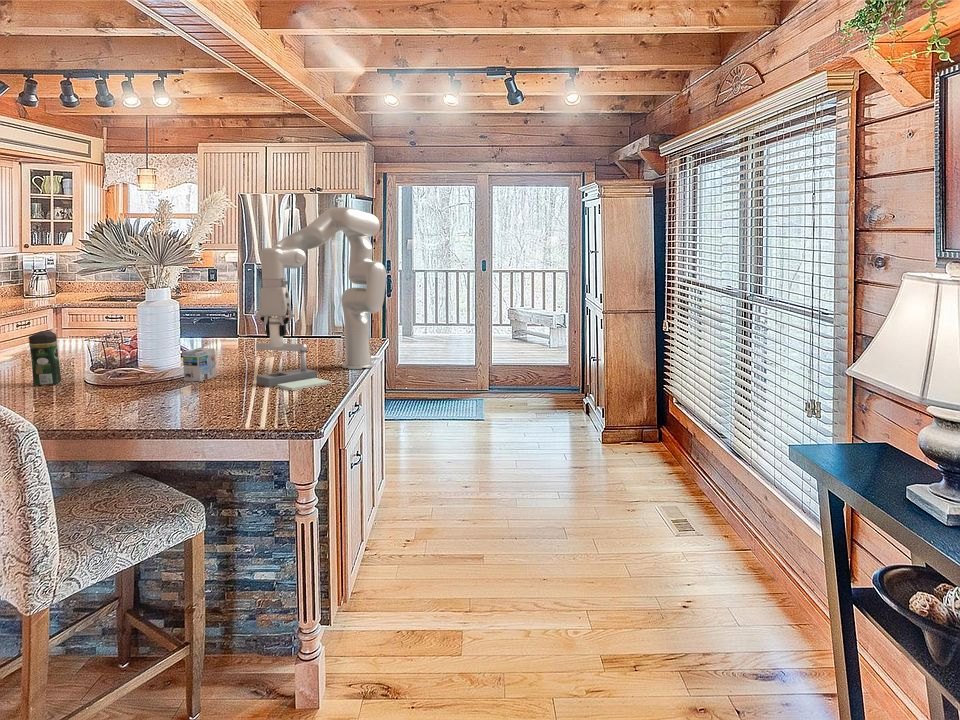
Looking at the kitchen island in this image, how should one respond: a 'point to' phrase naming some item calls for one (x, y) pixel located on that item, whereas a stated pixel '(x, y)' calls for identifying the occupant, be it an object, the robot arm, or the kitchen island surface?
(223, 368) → the kitchen island surface
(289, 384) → the mat
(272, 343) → the plug
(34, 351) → the coffee jar
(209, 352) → the light bulb box
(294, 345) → the silver metal bar
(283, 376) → the gray base with post
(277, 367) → the kitchen island surface
